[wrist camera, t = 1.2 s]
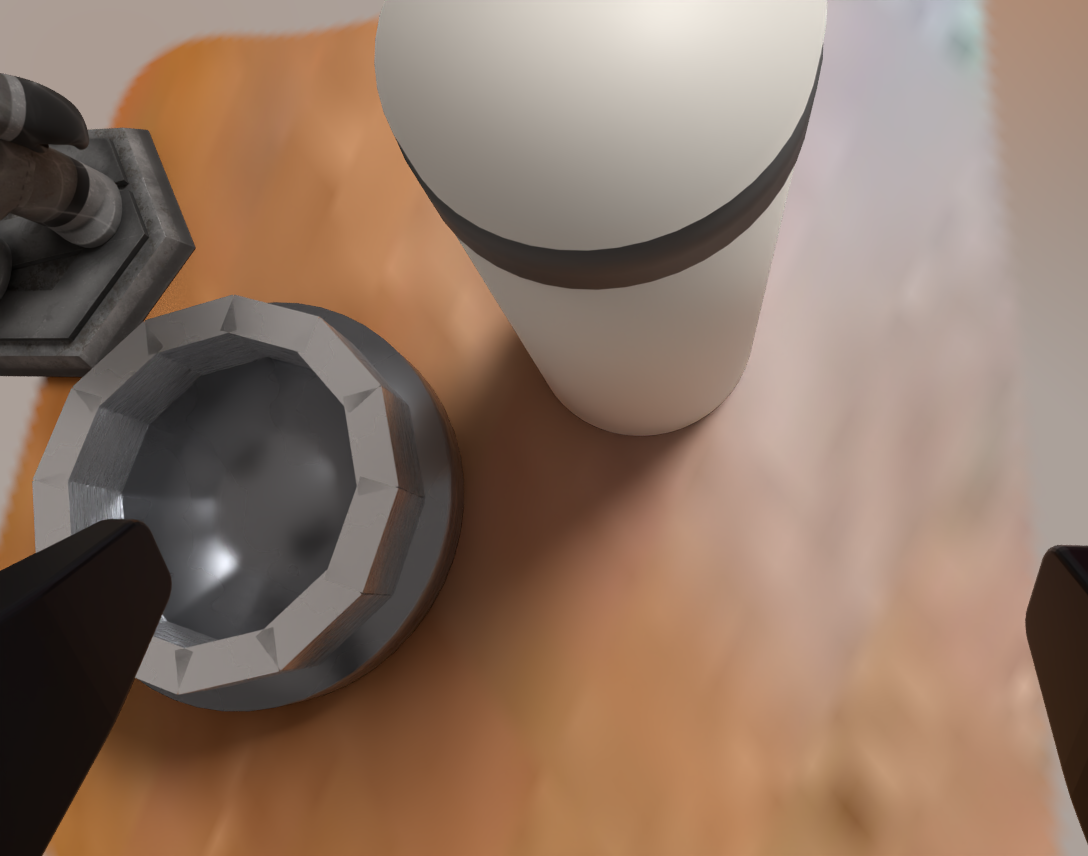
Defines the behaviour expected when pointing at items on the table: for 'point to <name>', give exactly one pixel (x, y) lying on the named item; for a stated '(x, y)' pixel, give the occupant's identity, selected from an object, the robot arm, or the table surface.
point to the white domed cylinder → (611, 177)
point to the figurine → (77, 233)
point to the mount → (264, 494)
